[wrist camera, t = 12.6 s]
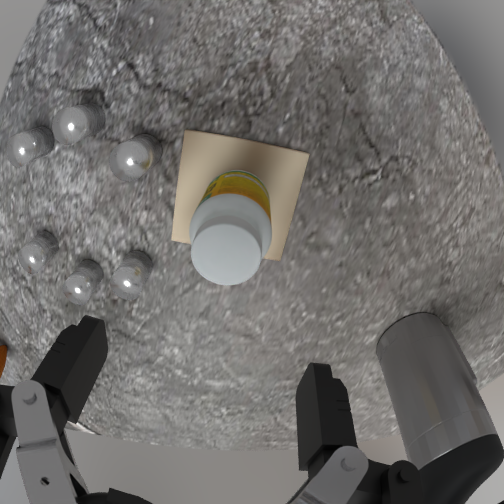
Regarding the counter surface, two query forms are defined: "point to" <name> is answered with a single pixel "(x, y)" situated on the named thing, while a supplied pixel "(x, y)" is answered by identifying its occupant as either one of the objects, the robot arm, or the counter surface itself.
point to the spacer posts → (123, 167)
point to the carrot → (2, 358)
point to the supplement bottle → (231, 228)
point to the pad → (238, 158)
